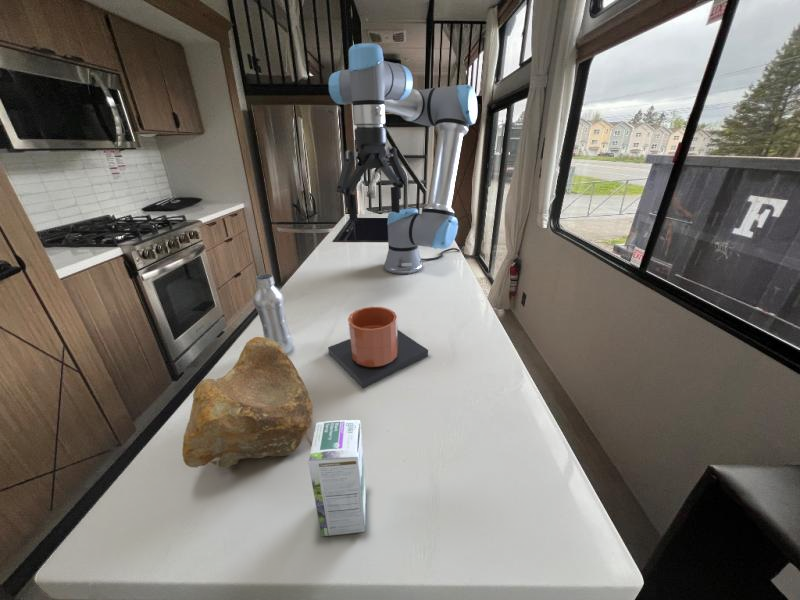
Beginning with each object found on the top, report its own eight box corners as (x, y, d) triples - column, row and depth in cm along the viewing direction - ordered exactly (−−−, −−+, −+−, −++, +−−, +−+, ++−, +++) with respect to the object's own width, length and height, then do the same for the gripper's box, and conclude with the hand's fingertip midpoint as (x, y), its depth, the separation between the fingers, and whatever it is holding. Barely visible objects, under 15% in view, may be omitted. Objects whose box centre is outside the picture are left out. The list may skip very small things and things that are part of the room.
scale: (389, 328, 89) (388, 317, 87) (429, 356, 77) (429, 343, 75) (328, 353, 79) (326, 341, 77) (363, 388, 67) (362, 375, 65)
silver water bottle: (300, 347, 81) (286, 272, 73) (283, 362, 76) (265, 284, 67) (278, 342, 83) (262, 270, 75) (260, 357, 78) (241, 280, 69)
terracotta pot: (381, 338, 81) (379, 302, 76) (406, 357, 73) (406, 319, 69) (344, 353, 75) (339, 315, 71) (367, 376, 68) (364, 335, 63)
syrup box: (326, 494, 47) (313, 421, 41) (367, 490, 47) (360, 417, 41) (321, 537, 42) (304, 461, 35) (367, 533, 42) (358, 456, 36)
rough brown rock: (287, 510, 46) (278, 432, 40) (175, 494, 47) (149, 415, 41) (333, 398, 67) (332, 336, 61) (255, 388, 68) (247, 326, 62)
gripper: (329, 127, 68) (341, 227, 78) (419, 125, 81) (419, 210, 91) (314, 128, 73) (327, 221, 83) (401, 125, 86) (403, 206, 96)
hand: (375, 216), depth 87 cm, fingers open, 13 cm apart
